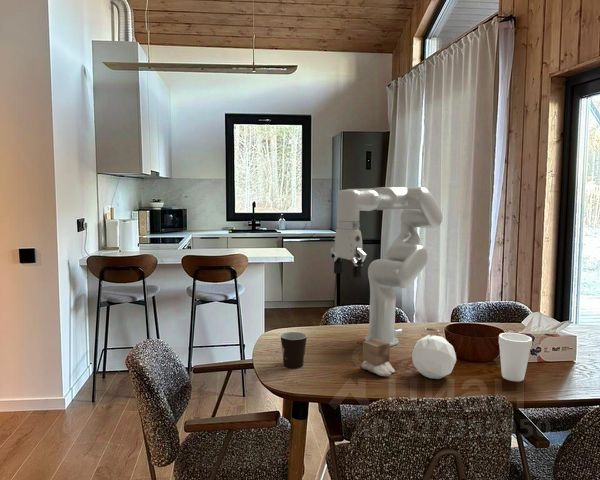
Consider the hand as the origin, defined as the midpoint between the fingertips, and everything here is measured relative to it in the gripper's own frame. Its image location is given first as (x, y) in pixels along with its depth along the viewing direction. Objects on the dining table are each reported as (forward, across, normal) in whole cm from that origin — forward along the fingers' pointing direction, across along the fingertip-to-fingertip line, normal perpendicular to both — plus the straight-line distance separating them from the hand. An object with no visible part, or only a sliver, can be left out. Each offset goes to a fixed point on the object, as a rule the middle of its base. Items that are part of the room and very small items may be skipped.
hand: (347, 275), depth 173 cm
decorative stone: (+29, -17, +1) cm, 34 cm away
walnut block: (+25, -17, +2) cm, 30 cm away
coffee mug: (+28, +3, +20) cm, 35 cm away
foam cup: (+28, -46, -29) cm, 61 cm away
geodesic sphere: (+28, -31, -9) cm, 43 cm away
